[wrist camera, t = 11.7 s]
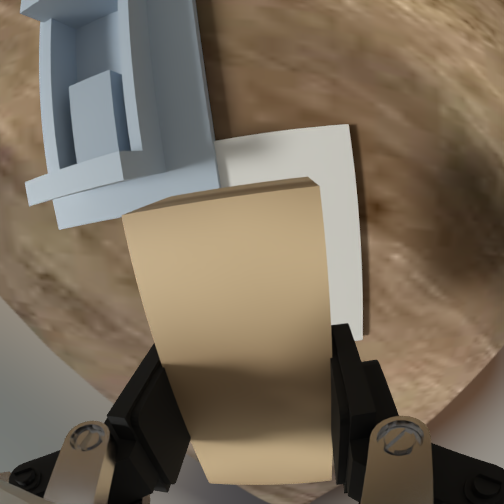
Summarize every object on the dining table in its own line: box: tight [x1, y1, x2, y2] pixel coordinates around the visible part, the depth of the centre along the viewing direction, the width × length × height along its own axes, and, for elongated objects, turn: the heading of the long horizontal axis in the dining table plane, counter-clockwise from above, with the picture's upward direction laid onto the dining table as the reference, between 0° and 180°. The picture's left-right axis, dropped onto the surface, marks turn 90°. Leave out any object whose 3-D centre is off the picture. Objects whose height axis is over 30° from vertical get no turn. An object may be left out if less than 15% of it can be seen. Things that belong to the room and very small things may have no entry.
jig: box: [20, 0, 221, 230], centre depth 17 cm, size 20×14×8 cm
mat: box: [214, 124, 363, 341], centre depth 23 cm, size 12×16×1 cm
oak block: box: [121, 177, 333, 485], centre depth 10 cm, size 10×4×4 cm, turn 8°
